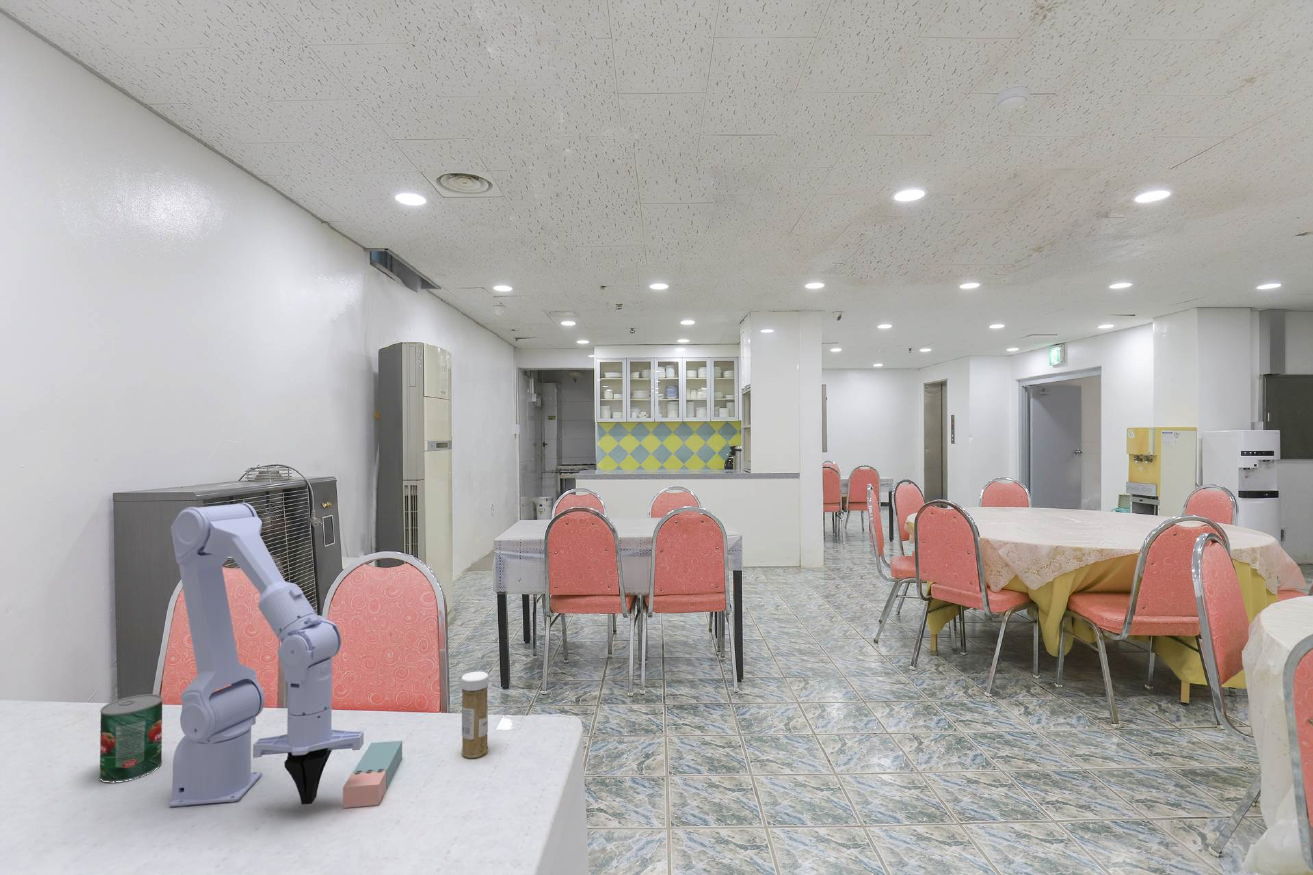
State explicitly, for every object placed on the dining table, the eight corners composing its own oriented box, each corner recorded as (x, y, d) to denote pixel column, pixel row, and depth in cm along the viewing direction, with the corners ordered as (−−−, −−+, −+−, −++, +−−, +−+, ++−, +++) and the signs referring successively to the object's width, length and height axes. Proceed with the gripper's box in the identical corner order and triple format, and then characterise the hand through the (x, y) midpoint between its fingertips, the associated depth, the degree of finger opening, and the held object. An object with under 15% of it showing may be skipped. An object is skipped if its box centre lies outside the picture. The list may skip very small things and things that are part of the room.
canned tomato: (172, 764, 104) (173, 698, 105) (115, 787, 97) (116, 716, 98) (145, 754, 108) (146, 690, 108) (88, 776, 101) (89, 708, 101)
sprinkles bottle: (491, 754, 108) (492, 676, 108) (465, 761, 105) (465, 681, 106) (483, 744, 112) (483, 668, 112) (457, 750, 109) (458, 673, 109)
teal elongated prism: (352, 792, 96) (352, 772, 96) (371, 760, 106) (371, 742, 106) (386, 789, 97) (386, 769, 97) (402, 758, 107) (402, 739, 107)
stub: (342, 807, 92) (343, 786, 92) (351, 793, 96) (351, 772, 96) (378, 804, 92) (379, 783, 93) (386, 790, 96) (386, 769, 96)
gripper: (242, 722, 87) (241, 821, 87) (353, 715, 89) (352, 811, 89) (266, 702, 94) (265, 793, 94) (368, 696, 96) (367, 785, 96)
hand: (309, 800), depth 92 cm, fingers closed
